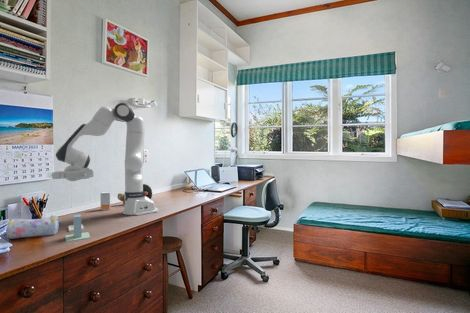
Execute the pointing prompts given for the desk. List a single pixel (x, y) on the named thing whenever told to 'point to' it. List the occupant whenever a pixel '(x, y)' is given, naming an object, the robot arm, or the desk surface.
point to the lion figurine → (121, 198)
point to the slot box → (71, 228)
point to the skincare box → (105, 200)
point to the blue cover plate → (77, 226)
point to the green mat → (84, 236)
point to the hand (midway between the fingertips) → (74, 175)
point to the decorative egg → (147, 190)
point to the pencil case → (32, 227)
